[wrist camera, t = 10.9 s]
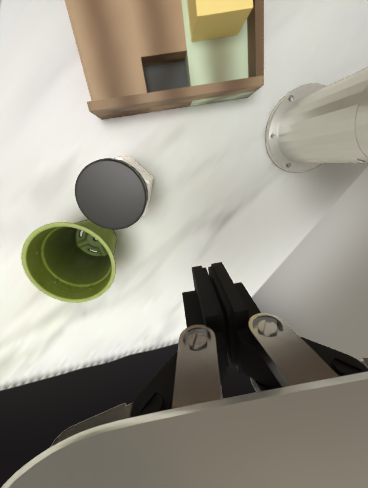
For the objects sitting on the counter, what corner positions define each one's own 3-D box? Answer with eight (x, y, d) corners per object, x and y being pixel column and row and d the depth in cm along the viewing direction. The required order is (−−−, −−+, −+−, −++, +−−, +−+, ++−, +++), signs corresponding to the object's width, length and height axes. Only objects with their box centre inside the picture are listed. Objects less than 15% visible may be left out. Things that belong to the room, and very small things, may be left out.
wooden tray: (243, -68, 25) (263, -126, 20) (247, 97, 32) (263, 84, 27) (59, -44, 25) (32, -97, 19) (101, 119, 31) (89, 111, 26)
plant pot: (122, 202, 36) (105, 218, 25) (133, 262, 40) (122, 297, 30) (52, 208, 35) (5, 227, 25) (71, 269, 40) (38, 307, 29)
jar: (164, 185, 35) (164, 196, 24) (134, 220, 37) (121, 244, 26) (121, 146, 33) (98, 137, 21) (91, 185, 34) (56, 196, 23)
